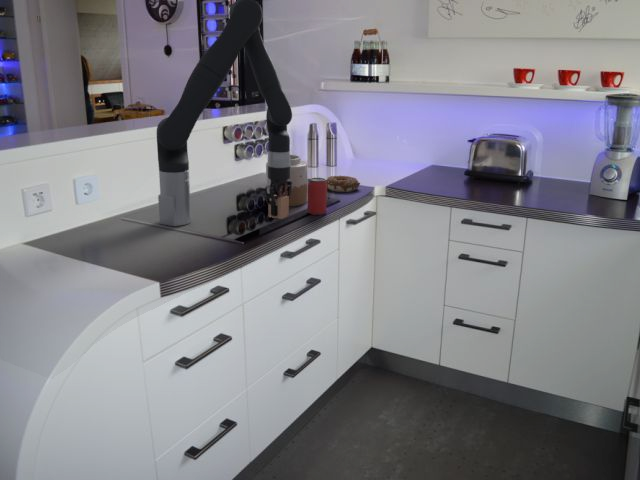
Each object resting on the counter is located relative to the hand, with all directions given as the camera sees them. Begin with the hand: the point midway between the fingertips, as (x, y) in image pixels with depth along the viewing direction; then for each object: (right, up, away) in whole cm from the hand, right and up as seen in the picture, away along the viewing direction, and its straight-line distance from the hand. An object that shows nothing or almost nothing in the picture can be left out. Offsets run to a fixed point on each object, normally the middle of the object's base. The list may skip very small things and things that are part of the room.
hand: (278, 213), depth 205 cm
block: (0, -1, 0) cm, 1 cm away
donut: (+23, +11, +41) cm, 48 cm away
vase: (+2, +5, +20) cm, 21 cm away
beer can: (+13, 0, +6) cm, 14 cm away
